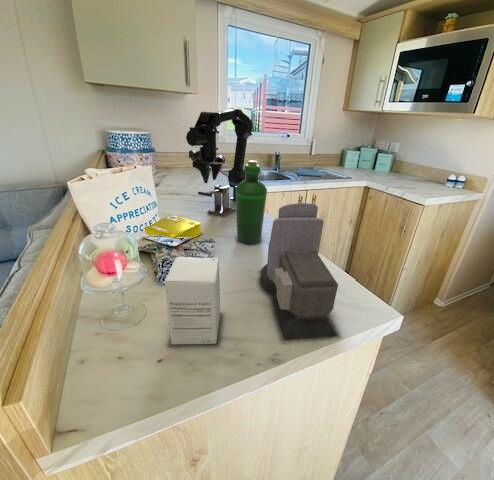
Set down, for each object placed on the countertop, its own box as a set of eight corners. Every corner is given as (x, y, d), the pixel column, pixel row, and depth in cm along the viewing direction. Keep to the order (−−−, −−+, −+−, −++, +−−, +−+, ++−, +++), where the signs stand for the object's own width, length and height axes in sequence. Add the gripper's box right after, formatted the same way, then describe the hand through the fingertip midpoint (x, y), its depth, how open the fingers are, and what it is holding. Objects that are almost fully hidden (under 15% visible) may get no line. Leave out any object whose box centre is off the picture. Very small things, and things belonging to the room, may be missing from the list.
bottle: (268, 237, 103) (274, 161, 91) (255, 248, 94) (259, 165, 82) (243, 231, 107) (246, 157, 95) (228, 241, 98) (229, 160, 86)
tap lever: (210, 198, 109) (210, 192, 108) (197, 196, 111) (197, 190, 110) (229, 193, 122) (229, 188, 121) (217, 191, 124) (217, 186, 123)
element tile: (140, 237, 95) (138, 225, 93) (172, 224, 107) (171, 213, 105) (174, 248, 90) (173, 235, 88) (203, 233, 102) (202, 221, 100)
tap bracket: (223, 216, 120) (223, 190, 115) (208, 213, 123) (207, 187, 118) (234, 210, 129) (235, 185, 124) (220, 207, 131) (219, 182, 126)
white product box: (180, 314, 62) (175, 255, 55) (220, 314, 62) (220, 256, 56) (169, 345, 53) (162, 280, 47) (216, 345, 54) (215, 281, 48)
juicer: (256, 266, 83) (261, 187, 73) (307, 265, 86) (318, 188, 76) (274, 340, 57) (285, 231, 46) (346, 335, 60) (371, 231, 49)
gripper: (203, 141, 126) (204, 175, 132) (179, 144, 109) (182, 183, 116) (225, 143, 123) (225, 178, 130) (204, 147, 107) (206, 187, 113)
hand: (210, 181), depth 122 cm, fingers open, 7 cm apart
